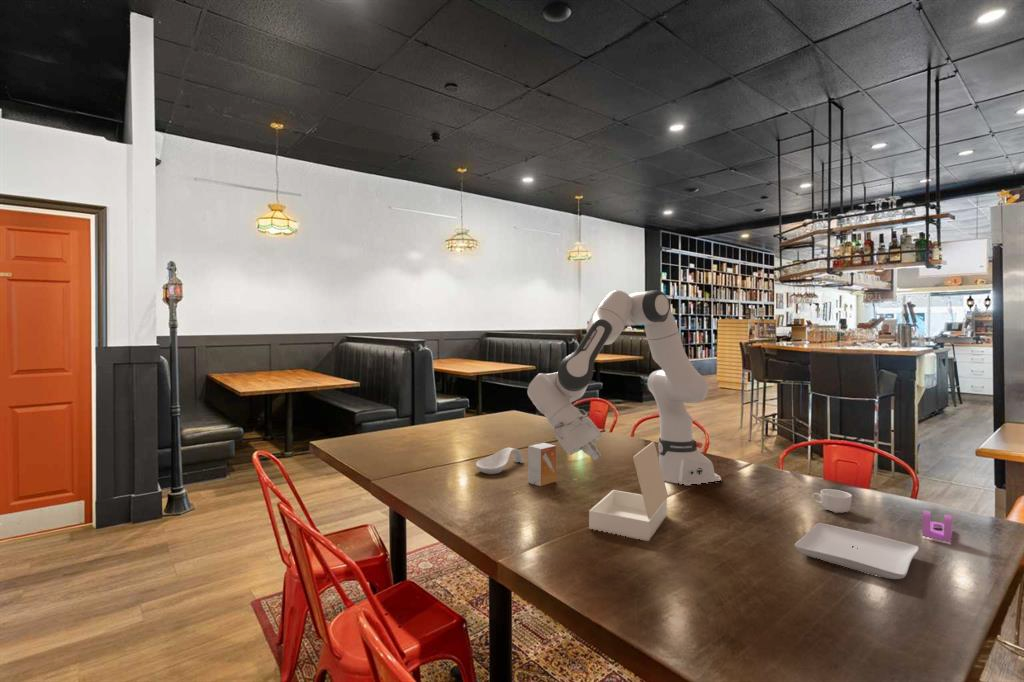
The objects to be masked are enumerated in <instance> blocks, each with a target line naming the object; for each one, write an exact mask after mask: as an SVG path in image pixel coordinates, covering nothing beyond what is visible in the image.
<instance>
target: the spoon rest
mask: <svg viewBox="0 0 1024 682" xmlns="http://www.w3.org/2000/svg"><path fill="white" fill-rule="evenodd" d="M512 452H513V455H514V458H513V461H514V462H515V463H518V462H520V464H524V463H525V459H524V456H523V453H522V451H520V450H519V449H518V448H513V447H505V448H503V449H501V450H499V451H496V452H495V453H493V454H491V455H488V456H487V457H484V458H481V459H479V460H478V461H476V463H475V467H476V468H477V469H478V471H480V472H481V473H483V474H486V475H498V474H500V473H501V472H503V471H504V469H505V468H506V467H507V465H508V463H509V460H510V456H511V453H512ZM497 473H498V474H497Z"/></svg>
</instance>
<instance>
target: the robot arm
mask: <svg viewBox="0 0 1024 682" xmlns="http://www.w3.org/2000/svg"><path fill="white" fill-rule="evenodd" d="M670 307H671V305H670V301H669V298H668V297H667V295H666V294H665V293H664V292H663V291H661V290H657V289H653V290H652V289H651V290H645V291H636V292H633V293H630V294H628V293H627V292H625V291H623V290H618V289H617V290H612V291H610V292H608V294H607V295H605V296H604V298H602V300H601V301H600V302H599V304H598V305H597V306H596V308H595V310H594V311H593V313H592V315H590V316H591V317H590V319H589V320H588V323H587V327H586V333H585V335H584V337H583V338H582V339H581V341H580V343H579V345H578V346H577V347H576V349H575V350H574V351H573V352H571V353H570V354H568V355H566V356H565V357H564V358H563V359H562V360H561V361H560V362H559V364H558V367H557V372H550V373H543V372H540V373H538V374H536V375H535V376H534V377H533V378H532V379H531V381H530V382H529V384H528V386H527V389H526V392H527V396H528V398H529V399H530V401H531V402H532V404H533V405H534V406H535V407H536V409H537V410H538V412H540V413H541V414H542V415H544V416H545V418H546V420H547V422H548V423H549V425H550V426H551V427H552V429H554V430H553V432H554V433H555V438H556V440H557V441H558V443H559V444H560V446H561V447H562V449H563V450H564V451H565V452H566V453H567V454H568V455H570V456H572V455H575V453H578V452H580V451H582V452H583V453H584V454H586V455H587V456H589V457H590V458H591V459H592V460H593V461H596V460H598V459H599V458H600V457H601V456H602V454H601V452H600V451H599V450H598V447H597V445H596V442H597V441H598V440H599V439H600V438H601V437H602V433H601V431H600V430H599V428H598V426H597V425H596V424H595V423H594V422H593V421H592V419H591V418H589V417H588V413H587V412H586V411H585V409H580V408H578V407H576V406H574V405H573V404H572V403H574V402H575V401H577V400H579V399H581V398H582V397H583V396H584V395H585V393H586V392H587V388H588V386H589V384H590V382H591V381H592V379H593V376H594V364H595V361H596V359H597V357H598V356H599V354H600V353H601V350H602V349H603V347H604V346H607V345H608V346H609V345H612V344H613V343H614V342H615V341H616V340H617V339H618V337H619V336H621V333H622V332H623V330H624V328H625V327H626V326H633V325H634V326H641V325H643V326H644V331H645V335H646V340H647V343H648V346H649V351H650V353H651V357H652V360H653V361H654V362H655V363H656V364H657V365H658V366H659V367H660V368H661V369H657V370H654V371H652V372H651V373H650V374H649V376H648V378H647V388H648V391H649V392H650V393H651V394H652V396H653V398H654V400H655V403H656V406H657V410H658V415H659V426H660V429H659V437H658V455H659V456H658V459H659V462H660V466H661V470H662V474H663V478H664V482H668V483H673V484H678V483H679V485H682V484H684V485H683V486H692V485H691V484H697V485H702V484H701V483H706V484H709V483H708V482H714V481H720V480H721V481H722V477H721V476H720V475H719V474H717V473H715V468H714V467H715V466H714V464H713V462H712V461H711V460H710V459H709V458H708V457H707V456H705V455H704V454H703V453H702V452H701V451H699V450H698V448H699V449H701V448H703V443H702V442H700V441H696V440H695V439H693V418H692V415H690V413H689V412H688V411H687V409H686V406H685V403H686V404H692V403H693V404H694V403H700V402H702V401H704V400H705V399H706V398H707V395H708V393H709V383H708V380H707V378H705V376H703V375H701V374H700V373H699V372H698V370H697V369H696V368H695V366H694V365H693V364H692V362H691V360H690V359H689V357H688V355H687V353H686V351H685V349H684V345H683V342H682V339H681V335H680V331H679V328H678V324H677V322H676V321H677V320H676V319H675V317H674V315H673V312H672V310H671V308H670Z"/></svg>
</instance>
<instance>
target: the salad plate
mask: <svg viewBox="0 0 1024 682" xmlns="http://www.w3.org/2000/svg"><path fill="white" fill-rule="evenodd" d="M852 546H854V547H853V548H852ZM794 547H795V549H797V551H799V552H800V553H802V554H804V555H806V556H808V557H809V558H810V557H811V558H814V559H816V558H817V559H816V560H818V559H821V560H824V561H828V562H831V563H835V564H838V565H841V566H845V567H848V568H852V569H856V570H859V571H863V572H866V573H869V574H873V575H877V576H880V577H879V578H881V577H885V578H884V579H888V580H889V579H890V580H900V579H904V578H905V577H906V576H907V575H908V571H909V569H910V565H911V564H912V560H913V559H914V558H915V556H916V555H917V554H918V552H919V550H920V547H919V546H918V545H915V544H911V543H908V542H905V541H899V540H895V539H892V538H888V537H884V536H880V535H877V534H872V533H867V532H863V531H859V530H854V529H852V528H851V529H850V528H846V527H841V526H836V525H833V524H832V525H831V524H827V523H825V522H824V523H822V522H817V523H816V524H814V526H813V527H812V528H810V530H808V531H807V532H806V533H805V534H804V535H803V536H802V537H801V538H800V539H799V540H797V541H796V542H795V544H794ZM857 548H858V549H857ZM821 560H820V561H821ZM824 561H823V562H824ZM831 563H830V564H831ZM838 565H837V566H838ZM841 566H840V567H841ZM845 567H844V568H845ZM848 568H847V569H848ZM852 569H851V570H852ZM859 571H858V572H859ZM866 573H865V574H866ZM869 574H868V575H869ZM873 575H872V576H873ZM877 576H876V577H877Z"/></svg>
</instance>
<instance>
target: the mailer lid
mask: <svg viewBox="0 0 1024 682" xmlns="http://www.w3.org/2000/svg"><path fill="white" fill-rule="evenodd" d="M658 455H659V454H658V451H657V448H656V444H655V441H651V442H650V443H648V444H647V445H646V446H645V447H643V448H642V449H641V450H640V451H638V452H637V453H636V454H635V455H633V456H632V460H633V463H634V468H635V472H636V474H637V480H638V482H639V486H640V487H639V488H640V491H641V492H640V493H641V495H642V496H643V500H644V503H645V507H646V511H647V515H648V519H649V520H650V519H651V518H652V517H653V516H654V514H655V513H656V512H657V510H658V509H659V508H660V506H661V505H662V504H663V503H664V501H665V500H666V499H667V500H668V497H669V494H668V490H667V486H666V483H665V482H666V481H664V478H663V474H662V470H661V466H660V462H659V456H658Z"/></svg>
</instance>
